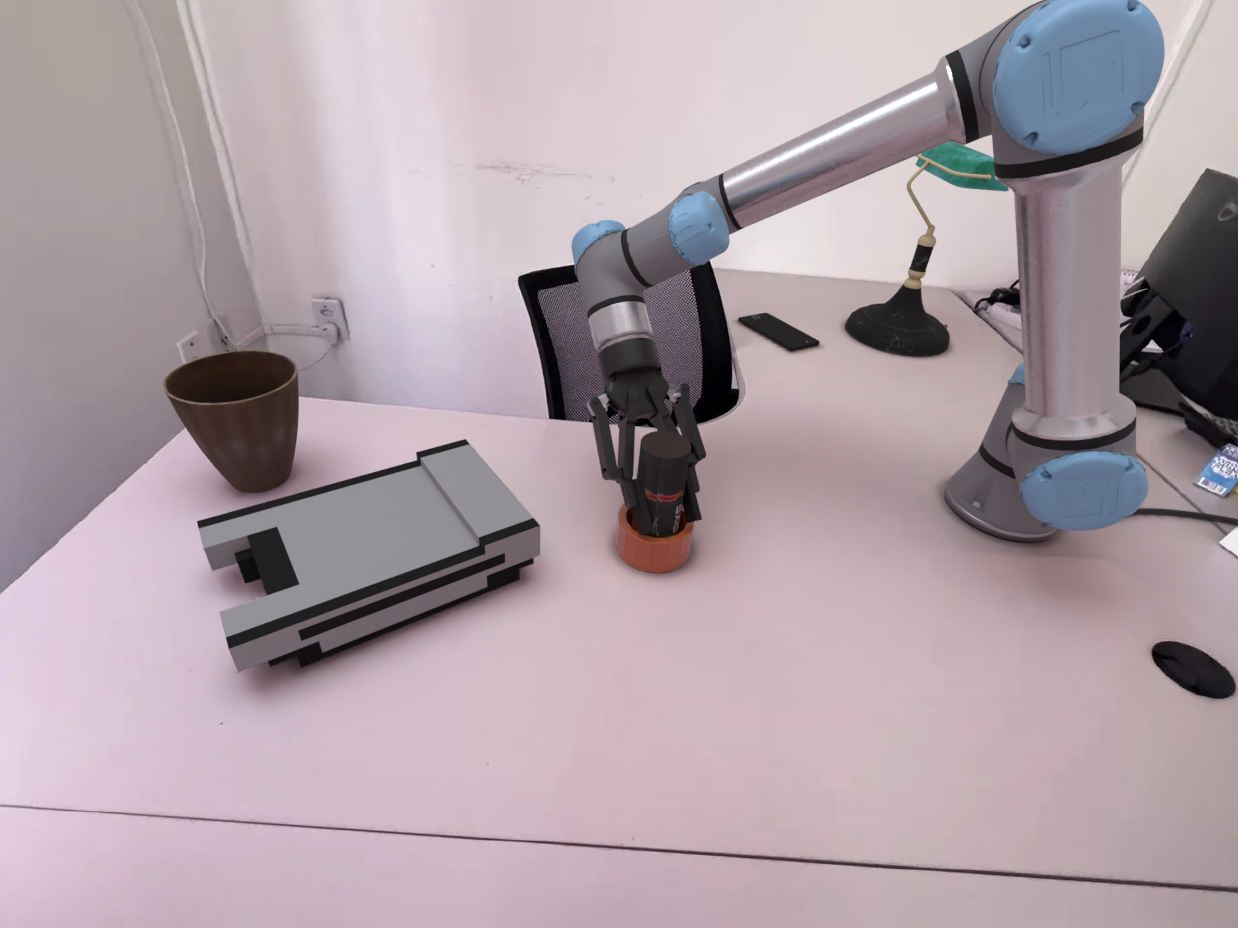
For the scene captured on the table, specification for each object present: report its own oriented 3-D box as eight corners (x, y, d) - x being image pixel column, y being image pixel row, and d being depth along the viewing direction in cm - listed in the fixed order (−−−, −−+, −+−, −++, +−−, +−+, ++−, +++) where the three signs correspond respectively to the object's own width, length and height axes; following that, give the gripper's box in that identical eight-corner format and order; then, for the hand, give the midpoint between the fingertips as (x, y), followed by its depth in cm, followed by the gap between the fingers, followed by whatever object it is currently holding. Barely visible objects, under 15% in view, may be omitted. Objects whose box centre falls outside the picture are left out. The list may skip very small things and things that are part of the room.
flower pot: (249, 440, 98) (220, 342, 89) (340, 457, 96) (320, 359, 87) (174, 498, 86) (132, 392, 77) (277, 519, 84) (245, 412, 75)
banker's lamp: (968, 364, 140) (1052, 163, 117) (863, 357, 140) (926, 153, 117) (923, 317, 162) (985, 140, 139) (831, 310, 161) (879, 131, 139)
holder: (696, 533, 88) (701, 504, 85) (679, 581, 80) (684, 551, 77) (628, 516, 90) (631, 487, 87) (605, 560, 82) (608, 530, 79)
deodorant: (672, 560, 82) (688, 462, 73) (626, 551, 82) (636, 453, 74) (678, 530, 86) (693, 435, 78) (634, 522, 87) (644, 427, 79)
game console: (214, 566, 77) (193, 512, 72) (469, 487, 93) (465, 438, 88) (248, 696, 63) (224, 640, 58) (540, 577, 79) (540, 525, 74)
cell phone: (765, 315, 155) (766, 312, 154) (820, 345, 143) (821, 341, 142) (736, 321, 151) (737, 317, 150) (790, 352, 139) (791, 348, 138)
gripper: (678, 348, 88) (722, 514, 86) (546, 365, 81) (589, 547, 79) (704, 327, 81) (752, 507, 79) (561, 343, 74) (609, 541, 72)
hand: (670, 526), depth 79 cm, fingers closed on deodorant, 6 cm apart
